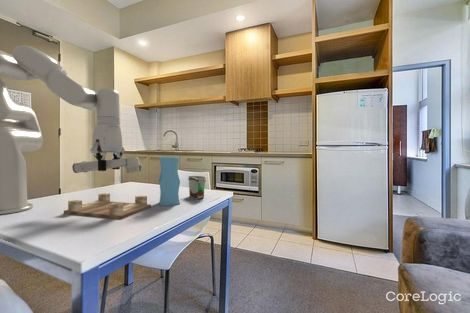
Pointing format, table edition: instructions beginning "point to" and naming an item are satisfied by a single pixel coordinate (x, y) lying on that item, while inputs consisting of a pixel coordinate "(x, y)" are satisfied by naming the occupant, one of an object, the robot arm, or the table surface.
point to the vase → (169, 181)
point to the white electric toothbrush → (109, 165)
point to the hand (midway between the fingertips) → (109, 169)
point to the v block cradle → (107, 207)
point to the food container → (196, 187)
